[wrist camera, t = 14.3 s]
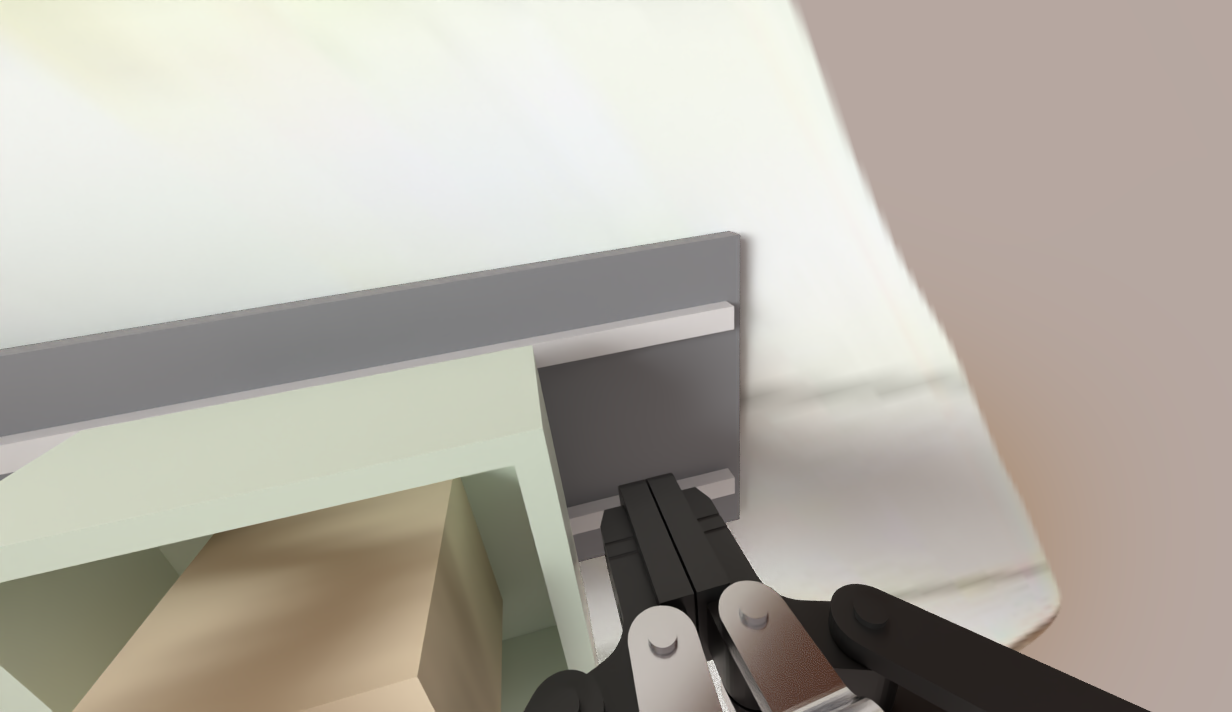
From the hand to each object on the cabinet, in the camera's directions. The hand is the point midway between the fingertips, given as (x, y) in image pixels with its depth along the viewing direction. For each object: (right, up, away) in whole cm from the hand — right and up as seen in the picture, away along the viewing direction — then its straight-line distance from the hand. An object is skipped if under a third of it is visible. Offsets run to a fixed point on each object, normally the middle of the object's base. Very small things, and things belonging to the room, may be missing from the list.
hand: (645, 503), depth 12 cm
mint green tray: (-7, 0, +2) cm, 8 cm away
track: (-7, +1, +3) cm, 8 cm away
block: (-7, -1, -1) cm, 7 cm away
